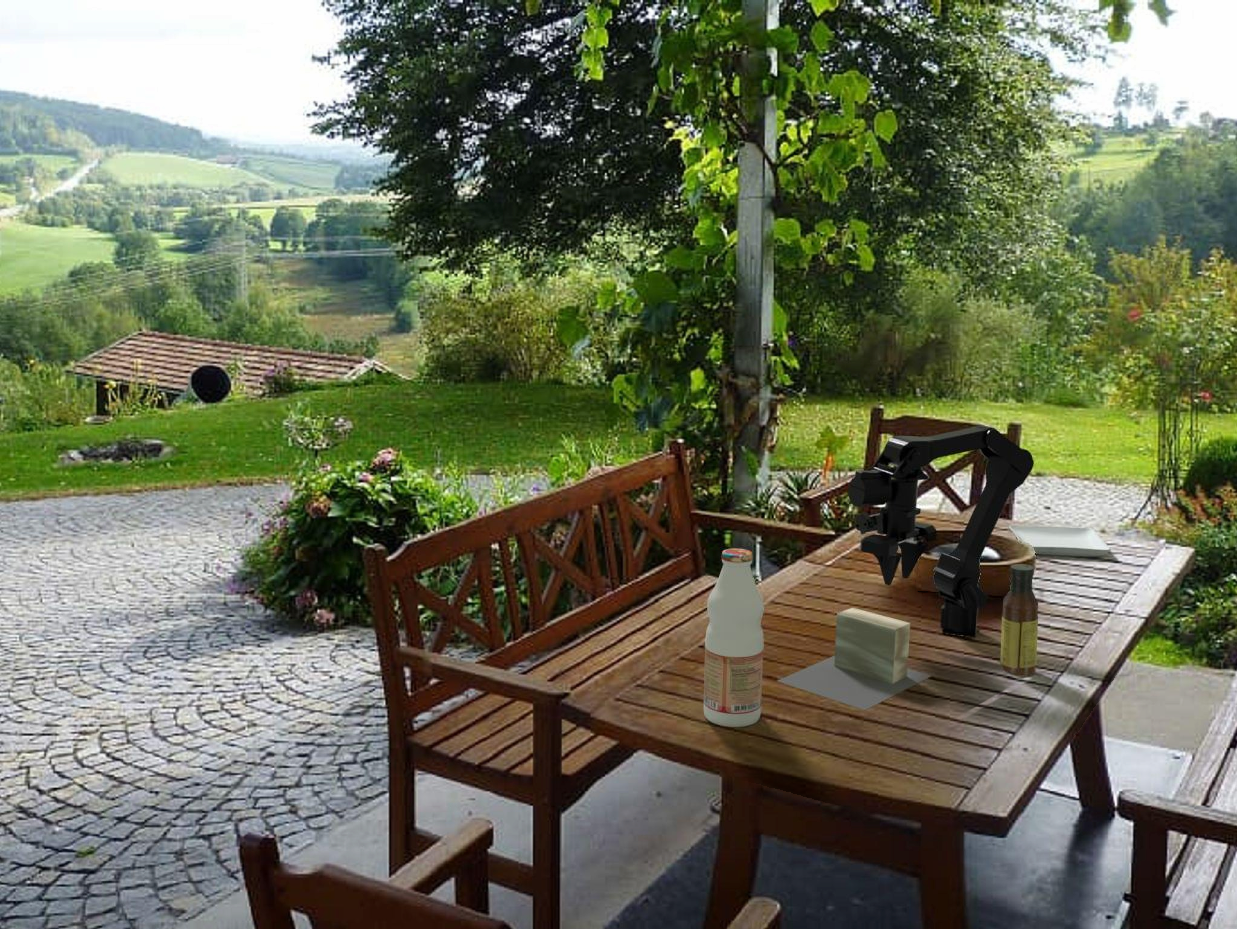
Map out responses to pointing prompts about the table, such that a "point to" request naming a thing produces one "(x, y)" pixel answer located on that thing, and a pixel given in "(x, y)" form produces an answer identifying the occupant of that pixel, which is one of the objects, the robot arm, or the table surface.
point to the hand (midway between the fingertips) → (896, 581)
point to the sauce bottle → (1019, 623)
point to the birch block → (872, 645)
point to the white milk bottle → (734, 645)
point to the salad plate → (1062, 540)
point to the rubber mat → (849, 684)
